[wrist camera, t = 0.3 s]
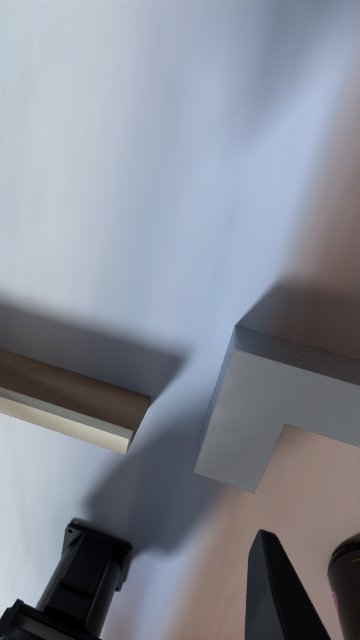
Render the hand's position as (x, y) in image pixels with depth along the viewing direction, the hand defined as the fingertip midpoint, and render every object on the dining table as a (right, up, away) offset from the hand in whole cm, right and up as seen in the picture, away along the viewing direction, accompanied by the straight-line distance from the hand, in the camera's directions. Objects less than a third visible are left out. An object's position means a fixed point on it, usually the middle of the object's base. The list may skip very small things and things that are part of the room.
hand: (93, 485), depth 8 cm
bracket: (+9, -1, +13) cm, 16 cm away
